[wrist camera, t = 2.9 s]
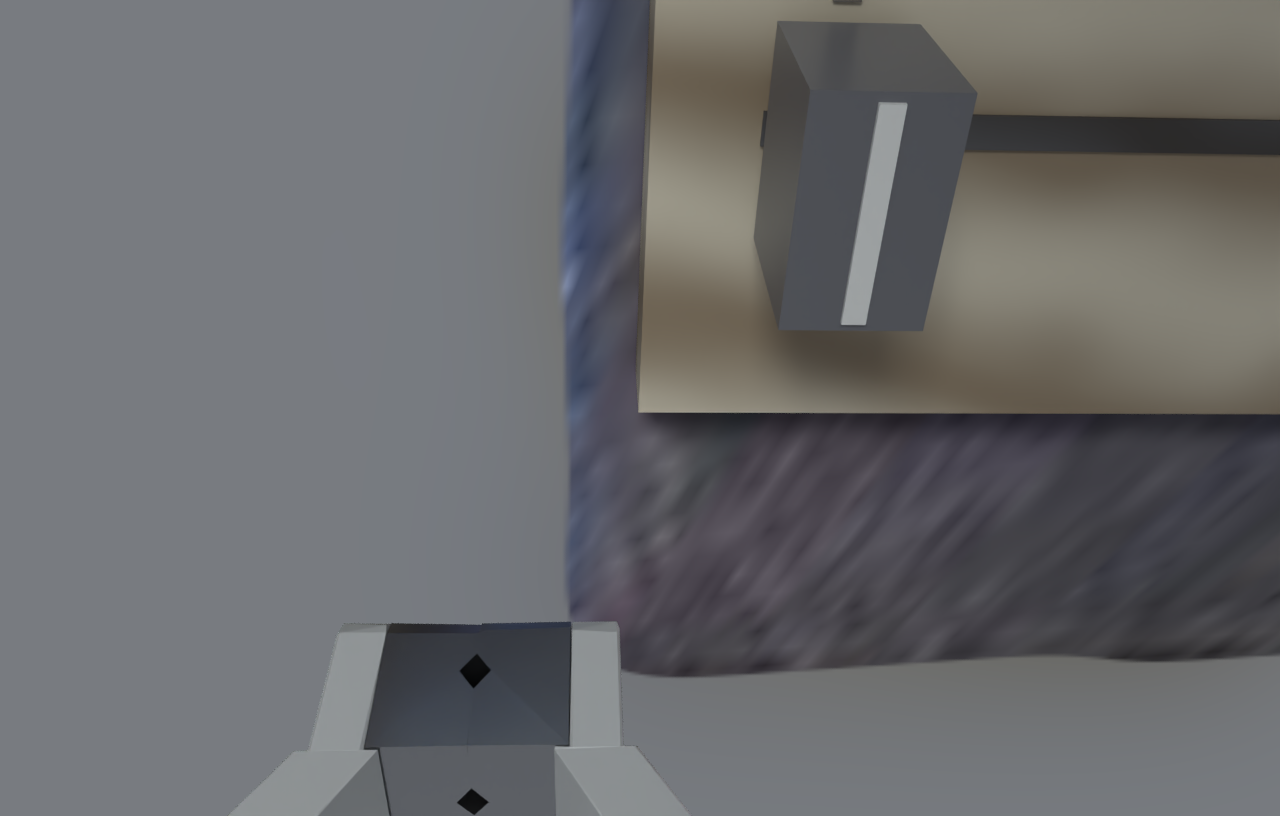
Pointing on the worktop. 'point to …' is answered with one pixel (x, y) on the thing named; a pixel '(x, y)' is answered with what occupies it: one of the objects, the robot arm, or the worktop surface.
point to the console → (989, 216)
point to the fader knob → (858, 173)
